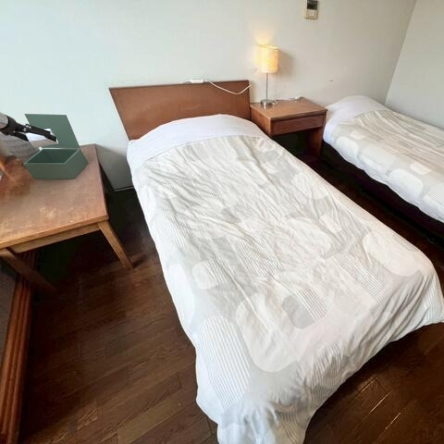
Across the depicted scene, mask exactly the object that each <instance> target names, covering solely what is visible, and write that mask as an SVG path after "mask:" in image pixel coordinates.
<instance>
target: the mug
mask: <svg viewBox="0 0 444 444" xmlns="http://www.w3.org/2000/svg"><path fill="white" fill-rule="evenodd" d="M45 130H48V131H51V135H54V133H53V132H52V130H51V129H45ZM25 134H26V136H27V138H28V140H29V141H30V143H31V144H32V146H33V147H34V148H37V147H39V148H41V147H43V146H49V145H54V144H58V141H57V138H56V142H54V141H52V140H50V139H47V138H45V137H44V136H40V135H36V134H32V133H25ZM54 136H55V135H54Z"/></svg>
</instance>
